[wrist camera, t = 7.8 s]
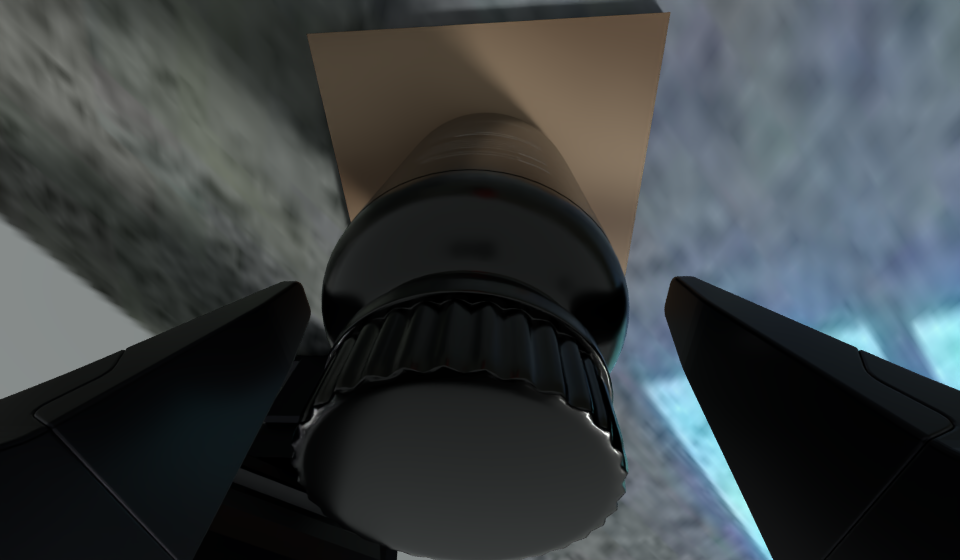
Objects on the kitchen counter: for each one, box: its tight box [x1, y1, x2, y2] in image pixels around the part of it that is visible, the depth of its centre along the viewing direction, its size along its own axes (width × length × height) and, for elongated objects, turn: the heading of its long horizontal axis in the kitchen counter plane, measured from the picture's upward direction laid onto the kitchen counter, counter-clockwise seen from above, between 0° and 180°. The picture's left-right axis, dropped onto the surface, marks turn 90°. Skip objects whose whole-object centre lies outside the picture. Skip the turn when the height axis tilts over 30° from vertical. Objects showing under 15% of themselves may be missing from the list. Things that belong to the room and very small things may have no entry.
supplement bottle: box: [291, 112, 629, 560], centre depth 10 cm, size 7×7×12 cm
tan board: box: [307, 12, 670, 276], centre depth 16 cm, size 12×12×1 cm
